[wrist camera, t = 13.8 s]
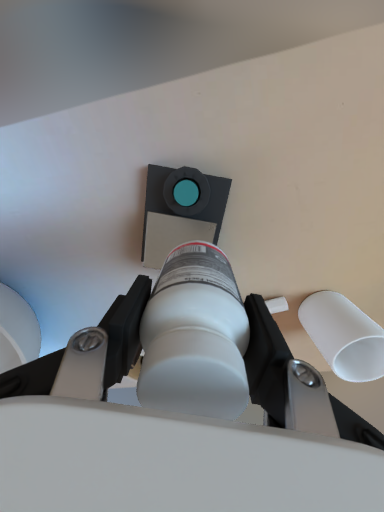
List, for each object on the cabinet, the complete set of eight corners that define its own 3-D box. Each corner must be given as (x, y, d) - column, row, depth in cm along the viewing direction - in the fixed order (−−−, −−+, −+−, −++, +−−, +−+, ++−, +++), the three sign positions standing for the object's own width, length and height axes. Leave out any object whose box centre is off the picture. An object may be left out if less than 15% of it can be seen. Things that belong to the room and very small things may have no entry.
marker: (195, 316, 37) (281, 296, 34) (197, 327, 36) (285, 308, 34) (192, 319, 34) (285, 297, 31) (195, 331, 34) (290, 310, 31)
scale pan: (148, 210, 25) (147, 211, 25) (216, 222, 26) (216, 223, 25) (144, 264, 28) (143, 266, 28) (204, 275, 29) (204, 277, 28)
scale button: (176, 177, 24) (175, 178, 23) (200, 182, 24) (200, 182, 23) (173, 202, 25) (172, 203, 24) (196, 206, 26) (195, 208, 24)
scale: (151, 160, 26) (145, 159, 23) (231, 175, 26) (235, 175, 24) (143, 257, 32) (138, 265, 29) (209, 269, 32) (210, 278, 29)
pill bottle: (215, 305, 17) (231, 454, 8) (156, 286, 16) (102, 422, 7) (242, 251, 15) (303, 370, 6) (175, 228, 14) (131, 318, 5)
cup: (308, 284, 32) (352, 330, 23) (376, 298, 33) (447, 348, 23) (289, 323, 35) (320, 376, 26) (351, 335, 36) (404, 391, 26)
